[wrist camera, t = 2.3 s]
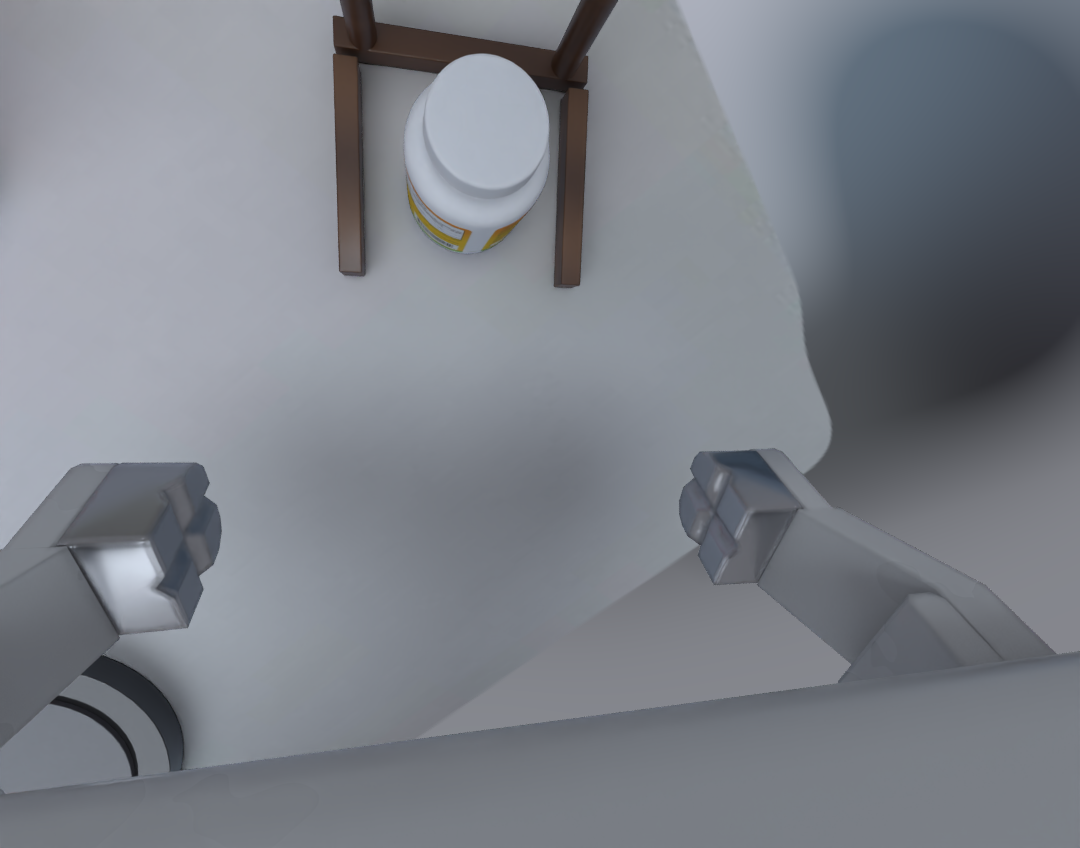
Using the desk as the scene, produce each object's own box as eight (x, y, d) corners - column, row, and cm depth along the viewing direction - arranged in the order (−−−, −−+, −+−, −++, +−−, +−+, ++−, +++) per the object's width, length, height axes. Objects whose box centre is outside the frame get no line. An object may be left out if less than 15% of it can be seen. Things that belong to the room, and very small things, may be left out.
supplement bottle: (513, 139, 26) (567, 29, 16) (521, 253, 27) (576, 210, 17) (401, 138, 25) (390, 19, 15) (413, 257, 26) (410, 213, 16)
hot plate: (233, 772, 28) (220, 801, 26) (15, 907, 27) (-13, 947, 25) (79, 601, 25) (53, 621, 23) (-175, 743, 24) (-222, 776, 22)
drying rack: (572, 288, 28) (715, 245, 14) (343, 275, 25) (255, 209, 12) (581, 67, 26) (754, -218, 13) (336, 30, 23) (225, -378, 10)
